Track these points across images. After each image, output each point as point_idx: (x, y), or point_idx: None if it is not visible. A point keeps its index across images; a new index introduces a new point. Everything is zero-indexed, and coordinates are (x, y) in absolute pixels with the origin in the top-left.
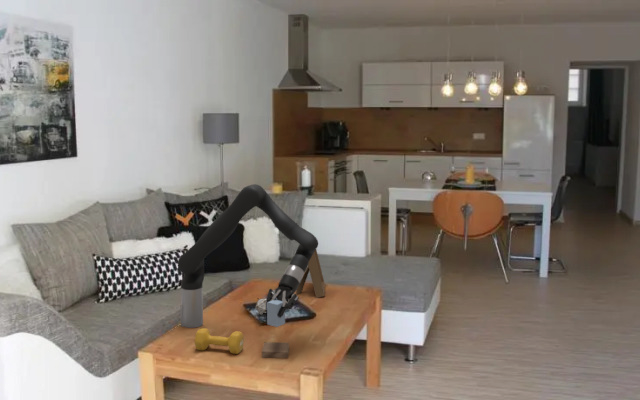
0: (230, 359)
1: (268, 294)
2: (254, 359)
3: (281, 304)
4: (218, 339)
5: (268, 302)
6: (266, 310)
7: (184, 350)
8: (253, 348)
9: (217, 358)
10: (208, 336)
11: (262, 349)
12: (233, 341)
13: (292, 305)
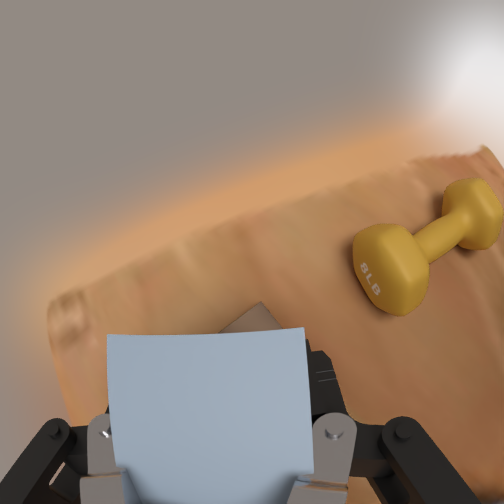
0: (334, 221)
1: (460, 494)
2: (270, 275)
3: (120, 428)
4: (434, 223)
5: (285, 339)
6: (320, 357)
7: None
8: (356, 352)
9: (368, 202)
10: (462, 208)
11: (274, 319)
12: (373, 228)
13: (59, 477)
